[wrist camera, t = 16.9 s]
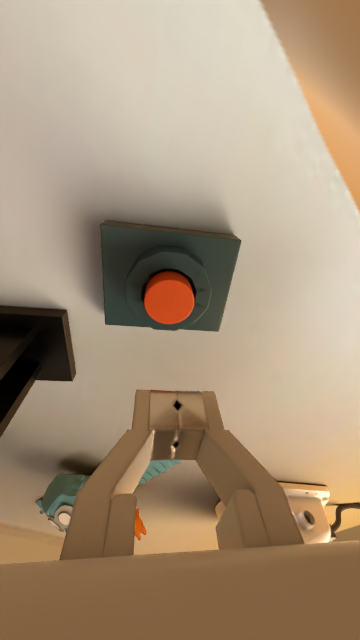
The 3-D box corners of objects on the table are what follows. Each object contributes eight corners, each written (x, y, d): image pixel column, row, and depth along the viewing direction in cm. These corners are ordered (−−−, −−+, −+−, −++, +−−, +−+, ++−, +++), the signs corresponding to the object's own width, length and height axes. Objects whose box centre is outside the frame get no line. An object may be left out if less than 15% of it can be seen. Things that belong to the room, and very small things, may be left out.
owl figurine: (64, 585, 37) (-31, 565, 30) (81, 518, 44) (7, 490, 38) (211, 532, 30) (128, 490, 23) (202, 461, 37) (136, 414, 30)
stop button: (195, 273, 17) (198, 281, 16) (188, 314, 19) (190, 326, 18) (146, 268, 17) (145, 277, 16) (144, 311, 19) (142, 323, 17)
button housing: (235, 235, 19) (249, 246, 16) (215, 322, 24) (223, 343, 21) (104, 220, 18) (93, 228, 15) (108, 315, 22) (100, 336, 19)
